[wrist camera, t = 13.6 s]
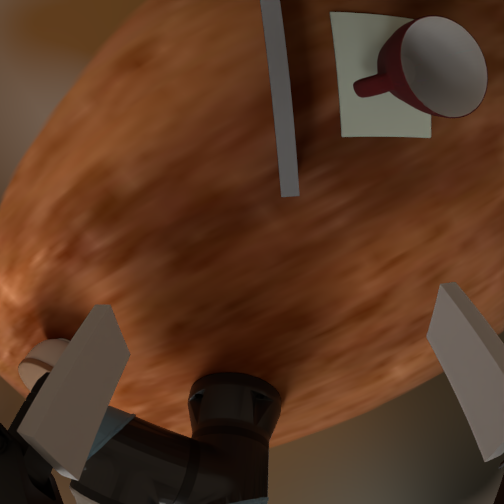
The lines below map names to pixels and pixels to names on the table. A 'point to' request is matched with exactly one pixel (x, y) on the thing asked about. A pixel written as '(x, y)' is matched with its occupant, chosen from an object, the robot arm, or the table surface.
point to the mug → (430, 68)
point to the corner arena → (339, 85)
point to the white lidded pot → (41, 360)
